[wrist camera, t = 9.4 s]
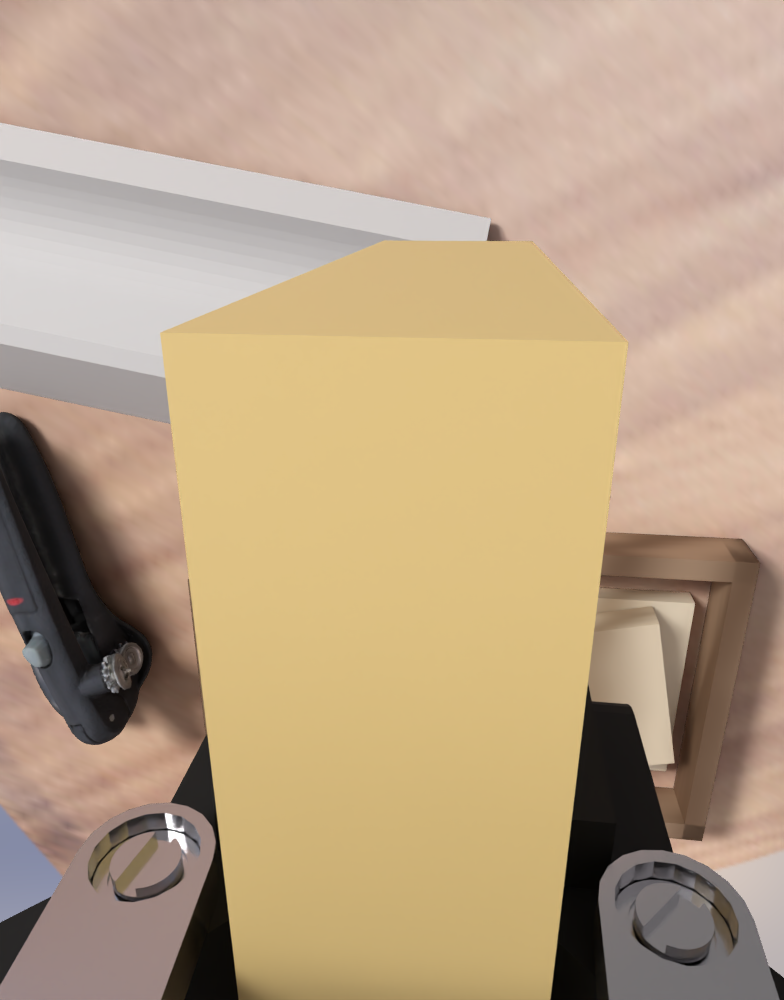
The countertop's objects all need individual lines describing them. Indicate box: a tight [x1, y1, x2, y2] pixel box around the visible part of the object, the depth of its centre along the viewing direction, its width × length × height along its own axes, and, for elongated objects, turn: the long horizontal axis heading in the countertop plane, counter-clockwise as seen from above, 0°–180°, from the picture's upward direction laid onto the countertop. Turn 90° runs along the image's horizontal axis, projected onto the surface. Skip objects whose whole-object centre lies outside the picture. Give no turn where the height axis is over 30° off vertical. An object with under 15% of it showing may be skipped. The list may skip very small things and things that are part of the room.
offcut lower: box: [596, 587, 695, 771], centre depth 38 cm, size 8×10×2 cm
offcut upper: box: [588, 606, 675, 765], centre depth 36 cm, size 6×8×2 cm
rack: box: [188, 532, 760, 841], centre depth 36 cm, size 24×16×7 cm, turn 90°
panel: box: [160, 240, 628, 1000], centre depth 10 cm, size 2×12×9 cm, turn 0°
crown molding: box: [0, 123, 491, 424], centre depth 33 cm, size 31×12×4 cm, turn 80°
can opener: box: [0, 412, 152, 745], centre depth 37 cm, size 18×7×6 cm, turn 13°
